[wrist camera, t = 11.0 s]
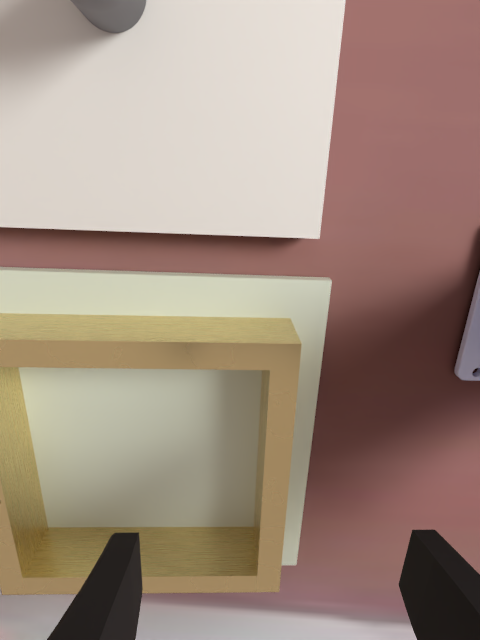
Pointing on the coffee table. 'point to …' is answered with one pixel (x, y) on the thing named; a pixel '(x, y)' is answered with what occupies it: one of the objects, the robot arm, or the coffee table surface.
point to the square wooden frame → (155, 542)
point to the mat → (163, 404)
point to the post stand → (167, 114)
